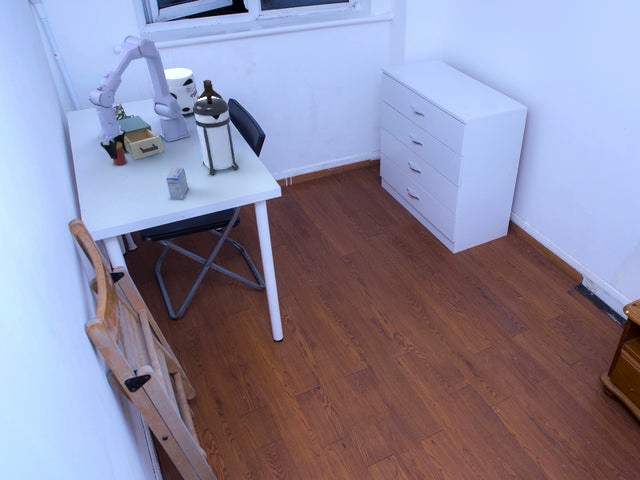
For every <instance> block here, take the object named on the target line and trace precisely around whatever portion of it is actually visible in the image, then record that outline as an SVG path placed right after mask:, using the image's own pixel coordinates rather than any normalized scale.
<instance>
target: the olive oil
mask: <svg viewBox="0 0 640 480" xmlns="http://www.w3.org/2000/svg"><path fill="white" fill-rule="evenodd" d="M202 83H203V89H204V90H203V92H202V93H201V94H199V99H202V98H206V97H205V96H206V94H207V93H210V94H211V95H212V97H218V98H221V99H223V100H224V98H223V96H222V95H220V93H218V92H217V91H215V89H214V88H213V83H212V80H210V79H205V80H203V81H202ZM199 99H198V100H199Z"/></svg>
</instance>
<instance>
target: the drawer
mask: <svg viewBox="0 0 640 480" xmlns="http://www.w3.org/2000/svg"><path fill="white" fill-rule="evenodd" d="M161 140H162V139H161V136H160V135H156V134H155V133H154V132H153V131H152V132H151V131H150V130H149V129H148V128H147V129H143V130H139V131H135V132H131V133H127V134H125V137H124V148H125V149H126V150H127V151H128V152H127V153H129V154H130V156H132V159H133V160H134V161H135V160H139V159H143V158H147V157H149V156H154V155H157V154H160V153H163V152H164V148H163V145H162V141H161Z"/></svg>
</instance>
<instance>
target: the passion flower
mask: <svg viewBox="0 0 640 480" xmlns="http://www.w3.org/2000/svg"><path fill="white" fill-rule="evenodd" d="M113 109H114V113H115V116H116V120H117V121H118V120H122V119H126V118H130V117H134V116H135V115H134V114H132V115H127V114H126V112H125V110H124V107H123V106H122V103H119V104H118V105H115V106H113Z"/></svg>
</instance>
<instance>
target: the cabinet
mask: <svg viewBox="0 0 640 480" xmlns="http://www.w3.org/2000/svg"><path fill="white" fill-rule="evenodd" d="M117 123H118V124H121V127H122V129H121V130H124V131H125V132H126V133H125V134H127V133H131V132H135V131H139V130H143V129H147V128H148V129H149V130H150V131H151V132H152V133H153V129H152V126H151V125H150V124H149V123H148V122H147V121H145V120H144V119H143V118H142V117H141V116H140V115H136V116H135V115H134V117H133V116H131V117H130V118H126V119H122V120H118V121H117ZM111 141H113V142H114V140H113V139H111ZM123 151H124V154H126V153H129V152H128V151H127V150H126V149H125V148H124V150H123Z"/></svg>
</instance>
